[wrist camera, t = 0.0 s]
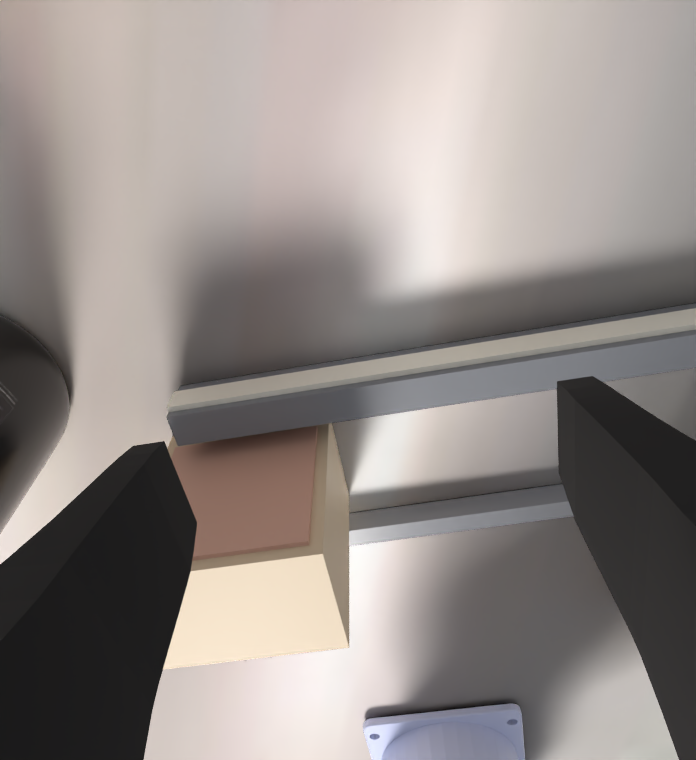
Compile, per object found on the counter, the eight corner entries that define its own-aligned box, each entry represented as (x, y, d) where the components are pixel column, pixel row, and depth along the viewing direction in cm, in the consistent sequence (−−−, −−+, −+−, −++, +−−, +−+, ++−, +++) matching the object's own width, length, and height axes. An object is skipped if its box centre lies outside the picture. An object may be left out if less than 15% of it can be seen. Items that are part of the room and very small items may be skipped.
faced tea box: (349, 494, 25) (349, 647, 19) (204, 515, 26) (160, 669, 20) (328, 408, 23) (321, 550, 17) (171, 432, 24) (111, 577, 18)
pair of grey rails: (901, 453, 24) (943, 487, 23) (238, 543, 27) (230, 580, 25) (965, 254, 20) (1022, 277, 19) (178, 381, 23) (164, 412, 21)
